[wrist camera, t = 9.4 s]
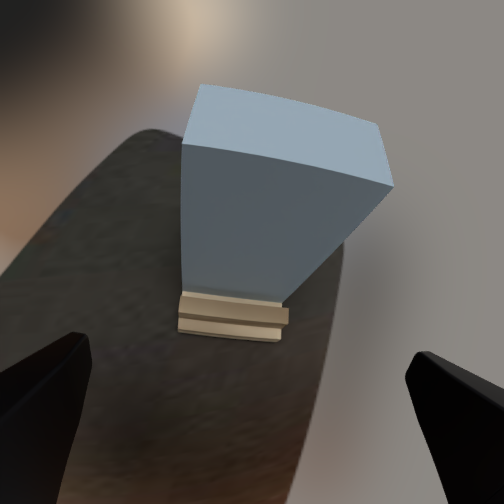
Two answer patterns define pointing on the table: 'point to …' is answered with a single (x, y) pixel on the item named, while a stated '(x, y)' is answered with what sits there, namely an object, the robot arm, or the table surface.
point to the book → (271, 190)
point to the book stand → (231, 317)
